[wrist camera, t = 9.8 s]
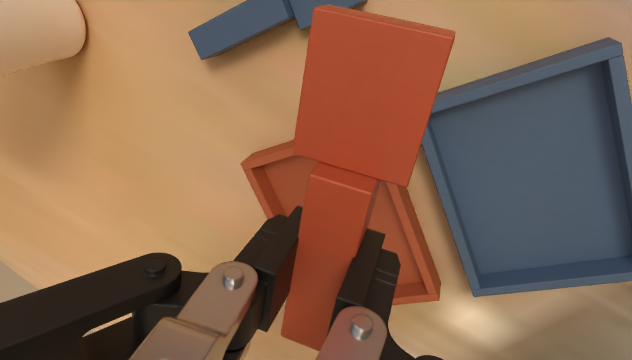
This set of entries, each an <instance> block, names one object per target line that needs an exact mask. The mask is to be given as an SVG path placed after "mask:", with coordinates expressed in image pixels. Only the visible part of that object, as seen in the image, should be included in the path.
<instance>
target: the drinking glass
mask: <svg viewBox="0 0 632 360" xmlns="http://www.w3.org/2000/svg"><path fill="white" fill-rule="evenodd" d="M85 37H86V26H85V20H84V17H83V14H82V11H81V9H80V7H79V5H78V4H77V2H76V0H0V77H2V76H5V75H8V74H11V73H15V72H18V71H21V70H24V69H28V68H31V67H34V66H38V65H41V64H44V63H48V62H52V61H57V60H62V59H66V58H70V57H72V56H74V55H76V54H77V53H78V52H79V51H80V50H81V49H82V47H83V45H84V42H85Z"/></svg>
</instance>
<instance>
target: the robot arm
mask: <svg viewBox="0 0 632 360" xmlns="http://www.w3.org/2000/svg"><path fill="white" fill-rule="evenodd" d="M302 209H303V207H302V206H299V205H297V206H296V207H295V209H294V210H293V211H292V213H291V214H290V215H289V217H287V216H284V215H281V214H278V215H276V216H274V217H272V218H270V219H268V220H267V221H266V222H265V223H264V224H263V226H262V227H261V228H260V230H258V232H257V233H256V234H255V235H254V237H253V238H252V239H251V240H250V241H249V243H248V244H247V245H246V246H245V247H244V249H243V250H242V251H241V252H240V253H239V255H238V256H237V257H236V258H235V259H234V261H229V262H224V263H221V264H219V265H217V266H215V267H214V268H213V269H212V270H211V271H210V273H199V272H190V271H181V263H180V261H179V260H178V259H177V258H176V257H174V256H172V255H170V254H167V253H151V254H147V255H143V256H140V257H137V258H134V259H131V260H128V261H125V262H122V263H119V264H116V265H113V266H110V267H107V268H104V269H101V270H98V271H95V272H92V273H89V274H86V275H83V276H80V277H77V278H74V279H71V280H68V281H65V282H62V283H59V284H56V285H53V286H50V287H47V288H44V289H41V290H38V291H36V292H32V293H29V294H26V295H24V296H20V297H17V298H14V299H12V300H9V301H6V302H2V303H0V360H243V359H244V357H245V355H246V353H247V351H248V349H249V347H250V340H251V339H252V337H253V335H254V334H255V332H256V330H257V329H260V330H262V331H265V332H267V331H268V330H269V328H270V326H271V324H272V323H273V321H274V319H275V317H276V315H277V314H278V312H279V310H280V308H281V307H282V305H283V303H284V301H285V299H286V298H287V296H288V294H289V292H290V286H291V281H292V275H293V269H294V264H295V258H296V252H297V247H298V241H299V238H298V232H299V226H300V221H301V215H302ZM385 236H386V234H384V233H381V232H378V231H375V230H372V229H369V228H367V230H366V232H365V235H364V237H363V240H362V242H361V245H360V247H359V250H358V252H357V255H356V257H353V258H352V261H351V263H350V266H349V268H348V271H347V273H346V276H345V278H344V280H343V283H342V285H341V288H340V290H339V293H338V295H337V298H336V302H335V306H334V309H333V313H332V317H331V321H330V325H329V329H328V333H327V337H326V339H325V341H324V344H323V346H322V348H321V350H320V352H319V354H318V356H317V358H316V360H443V359H441V358H439V357H435V356H430V355H424V356H420V357H417V358H416V359H415V358H414V357H412V356H411V355H409V354H408V353H407V352H405V351H404V350H403V349H401V348H400V347H399V346H398V345H397V344H396V342H395V341H394V340H393V338H392V337H391V335H390V332H389V329H388V320H389V315H390V311H391V306H392V302H393V298H394V293H395V289H396V285H397V280H398V276H399V272H400V267H401V264H400V261H399V258H398V255H397V253H394V252H391V251H388V250H385V249H382V245H383V242H384V239H385ZM129 313H132V317H130V318H127V319H125V320H123V321H120V322H118V323H116V324H113V325H111V326H108V327H106V328H104V329H101V330H99V331H97V332H94V333H92V334H89V335H87V336H85V337H82V336H83V335H84V334H85V333H87V332H88V331H89V330H91V329H93V328H96V327H98V326H100V325H103V324H105V323H108V322H110V321H113V320H115V319H117V318H120V317H122V316H125V315H127V314H129Z"/></svg>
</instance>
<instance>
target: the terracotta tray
mask: <svg viewBox="0 0 632 360" xmlns="http://www.w3.org/2000/svg"><path fill="white" fill-rule="evenodd" d="M293 144H294V140H292V141H289V142H286V143H283V144H280V145H277V146H274V147H271V148H268V149H265V150H262V151H258V152H255V153H252V154H251V155H250V156H249V157H248V158H247V159H245V160H244V161H243V162H242V163H241V166H242V168H243V170H244V172H245V174H246V176H247V178H248V180H249V182H250V184H251V186H252V188H253V190H254V192H255V194H256V196H257V198H258V200H259V202H260V205H261V207H262V209H263V211H264V213H265V215H266V217H267V219H270V218H272V217H274V216H276V215H278V214H281V215H284V216H287V217H289V215H290V214H291V213H292V211H293V210H294V209H295V207H296V206H297V205H299V206H302V207H303V203H304V198H305V192H306V186H307V181H308V175H309V174H310V172H311V171H312V170H313V169H314V167H315V166H316V165H317V164H318V162H319V161H315V160H312V159H309V158H305V157H302V156H298V155H295V154H293V152H292V151H293ZM368 228H369V229H372V230H375V231H378V232H381V233H384V234H386V236H385V239H384V242H383V245H382V249H385V250H388V251H391V252H394V253H397V255H398V258H399V261H400V264H401V267H400V272H399V276H398V280H397V285H396V289H395V293H394V298H393V302H392V305H399V304H409V303H419V302H429V301H439V298H440V286H441V282H440V279H439V276H438V273H437V271H436V268H435V265H434V262H433V260H432V257H431V254H430V251H429V249H428V246H427V243H426V240H425V238H424V235H423V232H422V229H421V227H420V224H419V221H418V218H417V216H416V213H415V210H414V207H413V205H412V202H411V199H410V196H409V194H408V191H407V188H406V187H402V186H399V185H395V184H392V183H389V182H385V181H382V180H381V182H380V186H379V189H378V193H377V196H376V200H375V204H374V207H373V211H372V215H371V218H370V222H369V225H368Z"/></svg>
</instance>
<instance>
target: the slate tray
mask: <svg viewBox="0 0 632 360" xmlns="http://www.w3.org/2000/svg"><path fill="white" fill-rule="evenodd" d="M422 146H423V149H424V152H425V155H426V158H427V161H428V164H429V167H430V169H431V172H432V175H433V178H434V181H435V184H436V187H437V190H438V193H439V196H440V199H441V202H442V205H443V208H444V211H445V214H446V217H447V220H448V223H449V226H450V229H451V232H452V235H453V237H454V240H455V243H456V246H457V249H458V252H459V255H460V258H461V261H462V264H463V267H464V270H465V273H466V276H467V279H468V282H469V285H470V288H471V291H472V294H473V296H474V297H479V296H489V295H499V294H509V293H518V292H528V291H538V290H548V289H558V288H568V287H577V286H587V285H597V284H607V283H617V282H626V281H632V104H631V98H630V92H629V86H628V80H627V73H626V67H625V61H624V56H623V50H622V44H621V43H620V42H618V41H616V40H613V39H611V38H605V39H602V40H599V41H596V42H593V43H590V44H587V45H584V46H581V47H577V48H574V49H571V50H568V51H565V52H562V53H559V54H556V55H553V56H550V57H547V58H544V59H541V60H538V61H535V62H531V63H528V64H525V65H522V66H519V67H516V68H513V69H510V70H507V71H504V72H501V73H498V74H495V75H492V76H489V77H485V78H482V79H479V80H476V81H473V82H470V83H467V84H464V85H461V86H458V87H455V88H452V89H449V90H446V91H442V92H439V93H437V96H436V99H435V102H434V105H433V108H432V111H431V115H430V118H429V121H428V124H427V127H426V130H425V133H424V137H423V140H422Z"/></svg>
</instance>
